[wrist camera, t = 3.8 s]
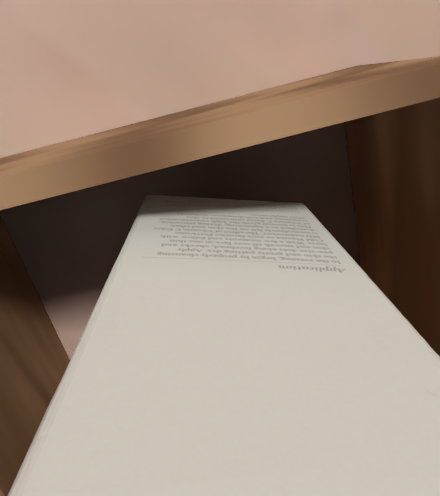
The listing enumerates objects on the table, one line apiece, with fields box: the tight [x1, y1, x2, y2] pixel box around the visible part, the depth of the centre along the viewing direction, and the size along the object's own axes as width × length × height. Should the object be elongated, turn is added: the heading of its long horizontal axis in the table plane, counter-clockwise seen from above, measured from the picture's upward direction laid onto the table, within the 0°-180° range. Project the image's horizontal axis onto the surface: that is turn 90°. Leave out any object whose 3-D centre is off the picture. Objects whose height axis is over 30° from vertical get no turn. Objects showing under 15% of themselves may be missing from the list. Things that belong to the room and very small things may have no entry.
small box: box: [8, 195, 440, 496], centre depth 11 cm, size 8×6×13 cm
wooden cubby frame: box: [0, 57, 440, 496], centre depth 16 cm, size 18×14×8 cm
